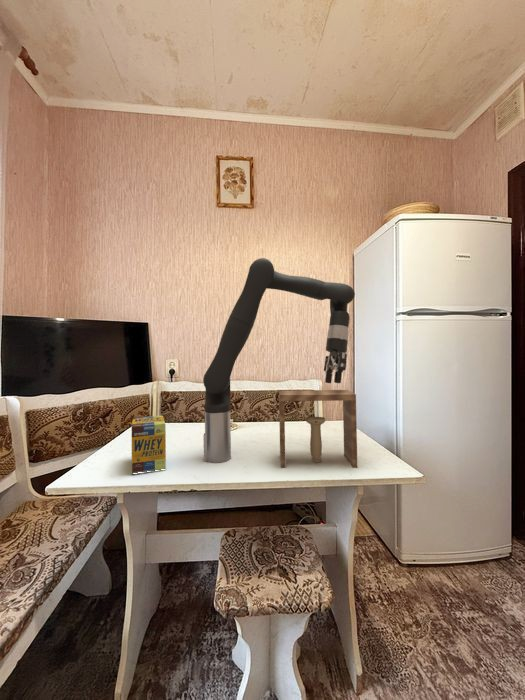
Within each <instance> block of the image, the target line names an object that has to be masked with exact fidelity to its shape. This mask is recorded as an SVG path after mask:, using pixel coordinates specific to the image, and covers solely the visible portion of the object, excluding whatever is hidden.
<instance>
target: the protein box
mask: <svg viewBox="0 0 525 700" xmlns="http://www.w3.org/2000/svg"><path fill="white" fill-rule="evenodd" d="M165 421H166V420H165V418H164V416H163V415H154V416H153V415H148V416H138V417H137V416H136V417H135V416H134V417H132V422H131V474H132V473H138V472H147V471H155V470H161V469H166V470H167V464H166V463H167V462H166V461H167V459H166V458H167V456H166V455H167V454H166V453H167V450H166V447H167V445H166V437H167V435H166V431H167V430H166V422H165Z"/></svg>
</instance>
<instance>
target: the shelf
mask: <svg viewBox="0 0 525 700" xmlns="http://www.w3.org/2000/svg"><path fill="white" fill-rule="evenodd" d="M278 399H279V400H278V409H279V411H278V413H279V414H278V417H279V459H280V469H286V429H285V428H286V427H285V426H286V424H285V422H286V421H285V418H286V417H285V402H304V401H305V402H324V401H325V402H327V401H330V402H331V401H332V402H333V401H339V402H341V401H342V419H343V456H344V457H345V459H346V458H347V459H346V461H347V462H348V463H349V465H350V466H351V467H352V469H358V437H357V436H358V435H357V434H358V431H357V428H358V426H357V394H356V393H354V392H352V391H350V390H348V389H317V390H315V389H311V390H309V389H306V390H304V389H303V390H301V389H300V390H297V389H296V390H278Z"/></svg>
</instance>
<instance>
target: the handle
mask: <svg viewBox="0 0 525 700" xmlns="http://www.w3.org/2000/svg"><path fill="white" fill-rule="evenodd" d="M305 418H306V420H305V421H306V423H307V424H309V426H310V442H309V443H310V447H309V448H310V456H311V461H312V463H321V462H322V455H323V453H322V452H323V451H322V450H323V447H322V446H323V444H322V443H323V441H322V430H321V426H322V425H323V424H324V423H325V422H326V418H325V417H323V416H306V417H305Z"/></svg>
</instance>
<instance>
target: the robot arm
mask: <svg viewBox="0 0 525 700" xmlns="http://www.w3.org/2000/svg"><path fill="white" fill-rule="evenodd" d="M266 290H277V291H283V292H288V293H292V294H296V295H300V296H303V297H307V298H310V299H314V300H318V301H323V300H329V311H330V316H329V324H328V331H327V336H326V344H325V351H326V352H328V353H329V355H325V359H324V366H323V372H325V380H324V383H326V384H332V380H333V382H334V383H335V384H341V383H342V376H343V374H342V373H343V372H344V371H346V370H347V369H346V368H347V356H348V354H347V351H348V345H349V344H348V342H349V335H350V334H349V327H350V326H349V325H350V313H349V312H348V304H350V303H351V302H352V301H353V300H354V298H355V295H356V293H355V290H354V289H353V287H352V286H350V285H348V284H346V283H341V282H331V281H330V282H329V281H323V280H320V279H317V278H312V277H308V276H301V275H300V276H298V275H289V274H285V273H282V272H278V271H276V270H275V267H274V264H273V263H272V262H271V260H270V259H268V258H264V257H260V258H256V260H254V261H253V262H252V263H251V264H250V266H249V268H248V273H247V277H246V280H245V283H244V287H243V289H242V291H241V294H240V295H239V296H238V299H237V301H236V303H235V304H234V306H233V309H232V310H231V313H230V315H229V317H228V319H227V321H226V324H225V326H224V330H223V332H222V334H221V338H220V341H219V345H218V347H217V351H216V353H215V355H214V356H213V359H212V361H211V362H210V365H209V367H208V368H207V370H206V372H205V373H204V375H203V379H202V382H203V386H204V388H205V398H204V401H205V402H204V432H203V462H209V463H215V464H217V463H224V462H227V461H230V460H231V458H232V447H231V445H232V438H231V437H232V434H231V376H232V373H233V370H234V369H233V368H234V367H235V364H236V361H237V359H238V357H239V355H240V354H241V352H242V350H243V348H244V347H245V345H246V342H247V341H248V338H249V337H250V335H251V332H252V330H253V327H254V324H255V322H256V319H257V315H258V311H259V307H260V304H261V301H262V298H263V296H264V294H265V292H266ZM334 370H335V372H334ZM333 372H334V379H332V378H333Z"/></svg>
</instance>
